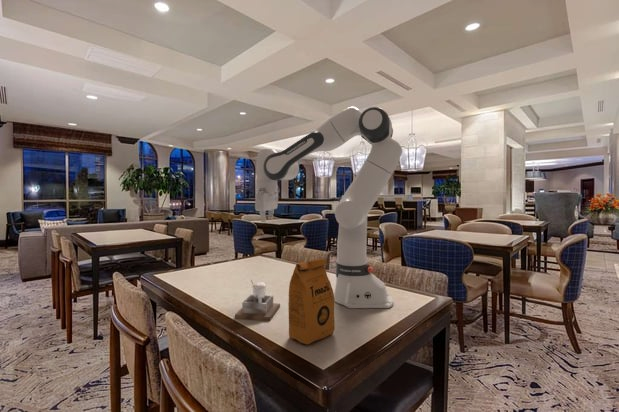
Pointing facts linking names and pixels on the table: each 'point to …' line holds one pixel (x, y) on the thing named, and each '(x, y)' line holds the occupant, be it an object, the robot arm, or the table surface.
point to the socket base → (258, 309)
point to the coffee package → (310, 302)
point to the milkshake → (259, 292)
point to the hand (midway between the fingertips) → (267, 220)
